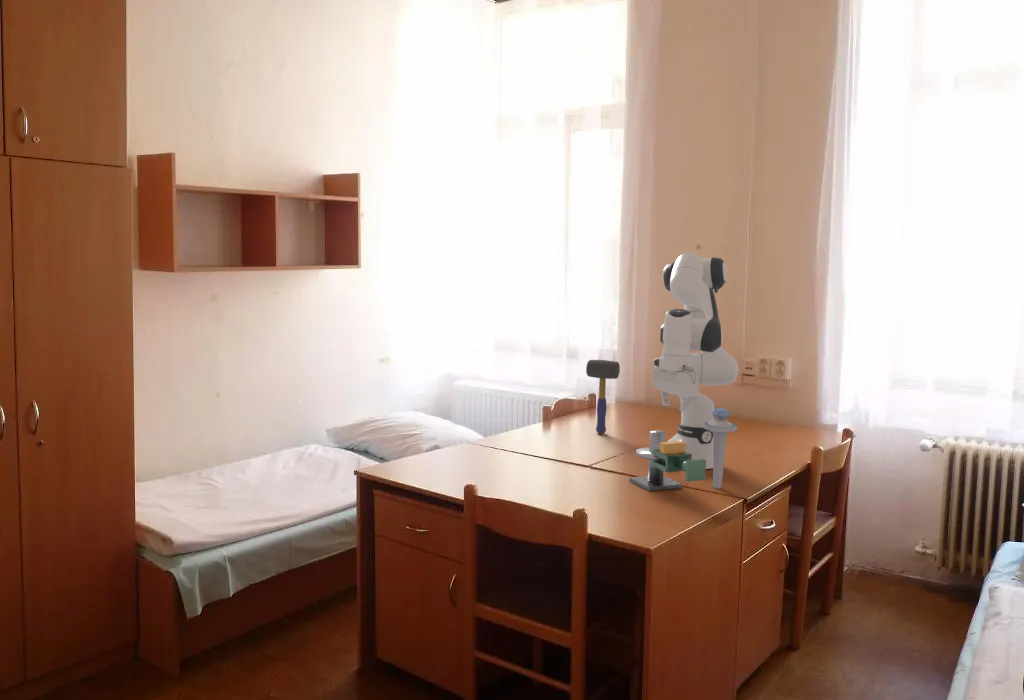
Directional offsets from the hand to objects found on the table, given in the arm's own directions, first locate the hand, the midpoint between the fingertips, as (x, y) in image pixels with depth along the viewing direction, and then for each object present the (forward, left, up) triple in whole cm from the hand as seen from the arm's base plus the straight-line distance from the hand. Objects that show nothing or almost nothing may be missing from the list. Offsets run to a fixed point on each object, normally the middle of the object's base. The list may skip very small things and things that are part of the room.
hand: (674, 408), depth 263 cm
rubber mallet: (-82, +19, -26) cm, 88 cm away
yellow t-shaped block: (0, 0, -20) cm, 20 cm away
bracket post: (-1, 0, -26) cm, 26 cm away
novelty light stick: (0, +17, -26) cm, 31 cm away
